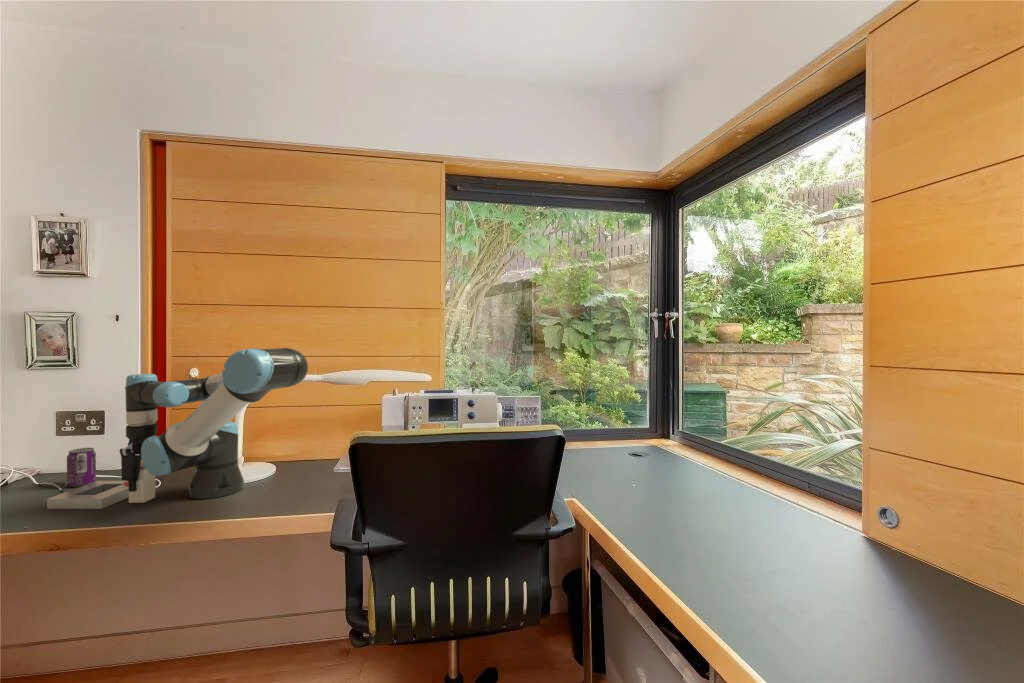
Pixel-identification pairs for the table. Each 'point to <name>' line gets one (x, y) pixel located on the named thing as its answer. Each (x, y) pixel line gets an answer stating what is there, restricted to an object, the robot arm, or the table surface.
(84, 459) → the beverage can
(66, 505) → the socket block
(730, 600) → the table surface
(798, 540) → the table surface
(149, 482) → the plug
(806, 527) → the table surface
